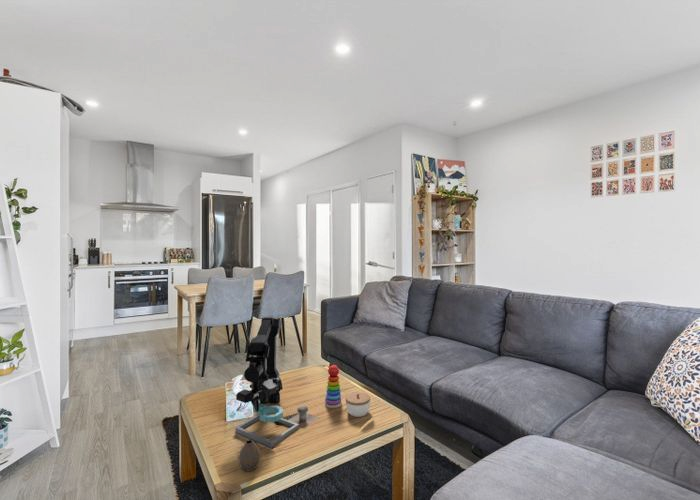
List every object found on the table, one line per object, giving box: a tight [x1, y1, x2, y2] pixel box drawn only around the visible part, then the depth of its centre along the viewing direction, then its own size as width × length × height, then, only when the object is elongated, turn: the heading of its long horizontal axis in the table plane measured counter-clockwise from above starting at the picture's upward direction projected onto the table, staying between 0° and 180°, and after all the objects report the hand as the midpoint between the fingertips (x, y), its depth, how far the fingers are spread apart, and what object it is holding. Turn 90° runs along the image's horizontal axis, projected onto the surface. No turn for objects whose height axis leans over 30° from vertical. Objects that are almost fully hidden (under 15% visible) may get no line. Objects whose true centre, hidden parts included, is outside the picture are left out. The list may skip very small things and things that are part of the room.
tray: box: [234, 413, 300, 450], centre depth 137 cm, size 20×15×2 cm
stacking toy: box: [324, 364, 343, 409], centre depth 158 cm, size 8×8×19 cm
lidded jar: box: [345, 391, 371, 418], centre depth 150 cm, size 11×11×9 cm
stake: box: [288, 405, 320, 429], centre depth 145 cm, size 10×10×6 cm
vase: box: [238, 439, 261, 472], centre depth 116 cm, size 7×7×9 cm
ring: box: [252, 402, 284, 423], centre depth 137 cm, size 14×9×3 cm, turn 57°
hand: (259, 410), depth 140 cm, fingers closed on ring, 2 cm apart
